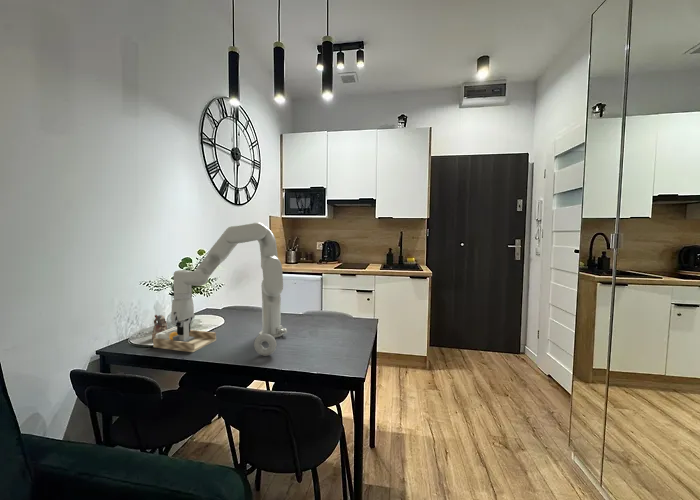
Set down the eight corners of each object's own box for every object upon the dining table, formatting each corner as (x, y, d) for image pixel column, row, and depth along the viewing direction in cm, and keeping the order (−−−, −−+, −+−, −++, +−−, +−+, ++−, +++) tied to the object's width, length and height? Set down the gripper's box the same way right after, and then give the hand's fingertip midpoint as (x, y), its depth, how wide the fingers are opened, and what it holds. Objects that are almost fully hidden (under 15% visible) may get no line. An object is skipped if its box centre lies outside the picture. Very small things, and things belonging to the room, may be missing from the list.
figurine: (161, 341, 159) (160, 317, 158) (148, 339, 161) (148, 316, 160) (171, 336, 166) (171, 313, 165) (159, 335, 168) (159, 312, 167)
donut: (253, 356, 142) (252, 334, 141) (255, 353, 145) (255, 332, 144) (275, 357, 141) (275, 335, 140) (277, 354, 145) (277, 332, 144)
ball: (174, 330, 160) (173, 338, 160) (167, 332, 156) (167, 340, 156) (180, 331, 159) (180, 339, 159) (174, 334, 155) (174, 342, 155)
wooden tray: (216, 340, 161) (215, 332, 161) (193, 352, 146) (192, 343, 145) (179, 336, 166) (179, 328, 166) (153, 347, 151) (153, 338, 151)
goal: (187, 336, 164) (187, 324, 164) (165, 345, 150) (165, 333, 150) (178, 334, 165) (178, 323, 165) (156, 344, 152) (155, 332, 151)
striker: (194, 338, 159) (193, 319, 159) (182, 344, 152) (181, 323, 151) (185, 337, 161) (184, 318, 160) (172, 343, 153) (172, 322, 152)
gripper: (189, 292, 163) (189, 327, 165) (162, 299, 147) (163, 338, 149) (201, 293, 162) (202, 328, 163) (176, 300, 146) (177, 339, 147)
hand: (183, 332), depth 156 cm, fingers closed on striker, 3 cm apart
